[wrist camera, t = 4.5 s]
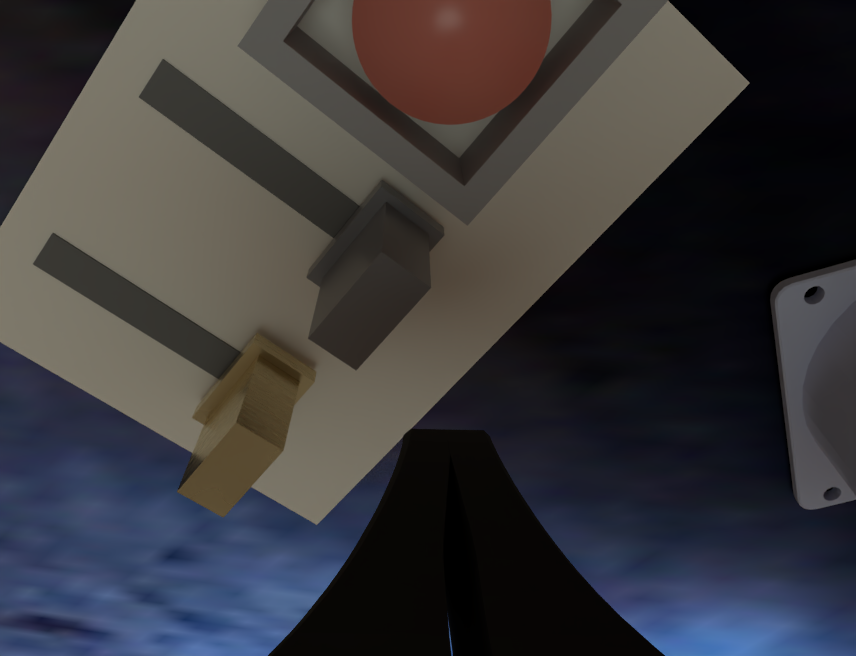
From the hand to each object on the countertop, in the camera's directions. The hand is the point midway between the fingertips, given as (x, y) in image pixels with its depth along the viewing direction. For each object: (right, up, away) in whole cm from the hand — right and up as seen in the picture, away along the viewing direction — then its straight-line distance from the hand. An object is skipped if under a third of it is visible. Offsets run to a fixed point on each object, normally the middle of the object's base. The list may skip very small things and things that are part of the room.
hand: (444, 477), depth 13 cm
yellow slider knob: (-5, +1, +7) cm, 8 cm away
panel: (-3, +6, +6) cm, 9 cm away
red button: (0, +9, +3) cm, 9 cm away
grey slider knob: (-1, +4, +5) cm, 7 cm away
